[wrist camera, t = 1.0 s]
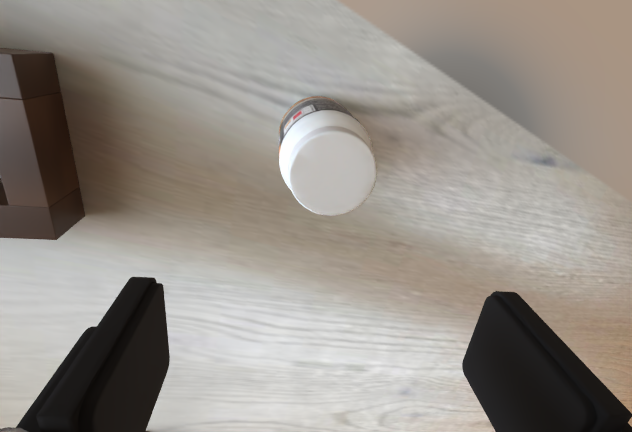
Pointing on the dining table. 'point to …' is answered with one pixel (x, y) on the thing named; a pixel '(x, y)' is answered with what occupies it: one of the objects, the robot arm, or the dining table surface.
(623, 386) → the dining table surface
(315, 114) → the pill bottle
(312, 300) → the dining table surface
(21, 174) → the holder
